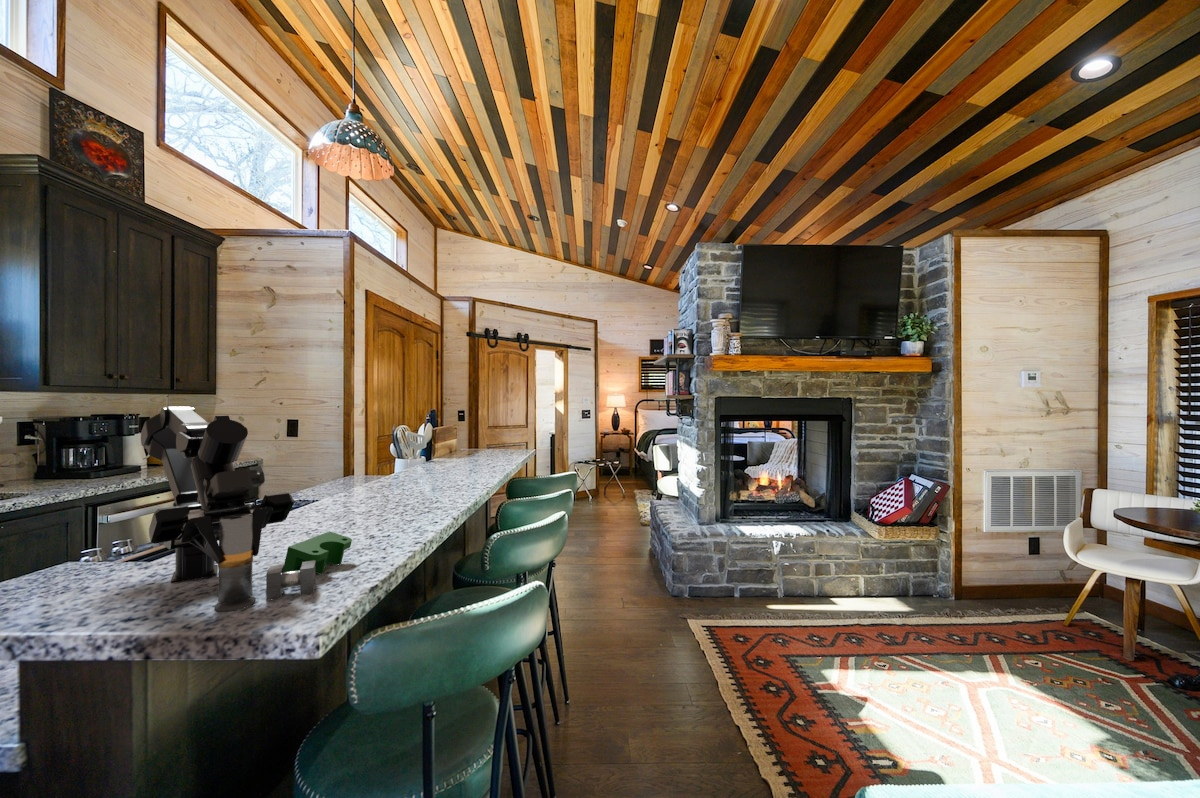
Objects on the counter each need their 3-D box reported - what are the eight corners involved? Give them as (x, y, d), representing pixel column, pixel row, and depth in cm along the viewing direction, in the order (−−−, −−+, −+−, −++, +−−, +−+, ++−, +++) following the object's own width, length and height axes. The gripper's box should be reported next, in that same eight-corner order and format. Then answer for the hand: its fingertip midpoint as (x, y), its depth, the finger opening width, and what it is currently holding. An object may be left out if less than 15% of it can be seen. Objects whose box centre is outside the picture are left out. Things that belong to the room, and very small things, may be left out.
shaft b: (266, 600, 81) (266, 573, 81) (270, 591, 85) (270, 565, 85) (313, 593, 84) (313, 567, 84) (315, 584, 88) (315, 560, 88)
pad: (214, 603, 80) (214, 601, 80) (255, 595, 83) (255, 593, 83) (213, 614, 76) (213, 612, 76) (256, 605, 79) (256, 604, 79)
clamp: (312, 598, 93) (309, 562, 89) (285, 589, 94) (280, 553, 90) (355, 556, 104) (354, 522, 100) (331, 548, 104) (328, 514, 101)
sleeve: (220, 594, 80) (221, 515, 80) (254, 589, 83) (255, 512, 83) (214, 605, 76) (215, 521, 76) (250, 599, 78) (251, 518, 78)
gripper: (154, 456, 74) (173, 542, 68) (290, 447, 89) (316, 517, 83) (141, 501, 79) (158, 586, 72) (272, 486, 94) (296, 554, 87)
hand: (238, 558), depth 79 cm, fingers closed on sleeve, 4 cm apart
